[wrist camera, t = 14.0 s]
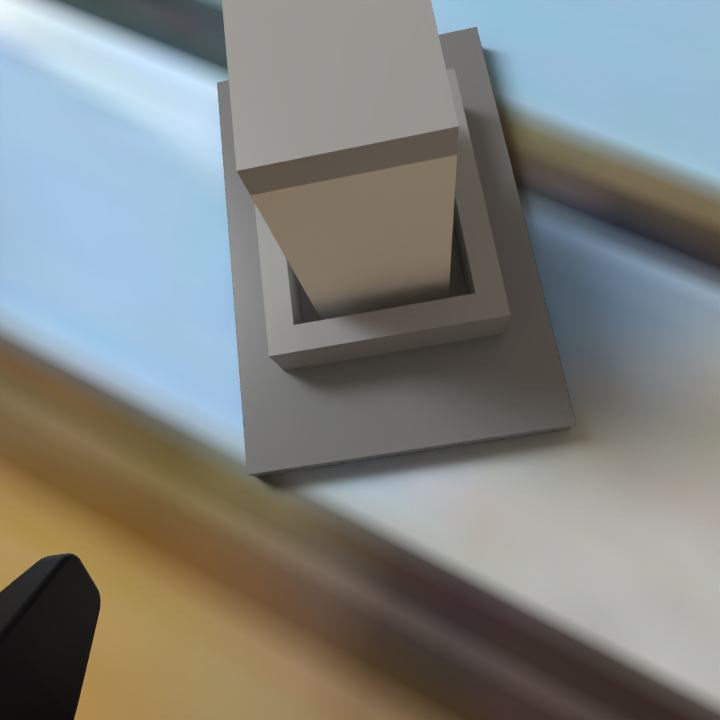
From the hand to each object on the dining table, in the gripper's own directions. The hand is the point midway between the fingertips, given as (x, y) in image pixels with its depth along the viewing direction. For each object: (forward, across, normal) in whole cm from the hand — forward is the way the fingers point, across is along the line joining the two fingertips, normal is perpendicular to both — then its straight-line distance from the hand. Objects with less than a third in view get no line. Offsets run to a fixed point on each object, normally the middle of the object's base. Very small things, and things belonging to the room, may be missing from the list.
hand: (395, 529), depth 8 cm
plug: (+17, 0, +1) cm, 17 cm away
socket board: (+18, 0, +1) cm, 18 cm away
